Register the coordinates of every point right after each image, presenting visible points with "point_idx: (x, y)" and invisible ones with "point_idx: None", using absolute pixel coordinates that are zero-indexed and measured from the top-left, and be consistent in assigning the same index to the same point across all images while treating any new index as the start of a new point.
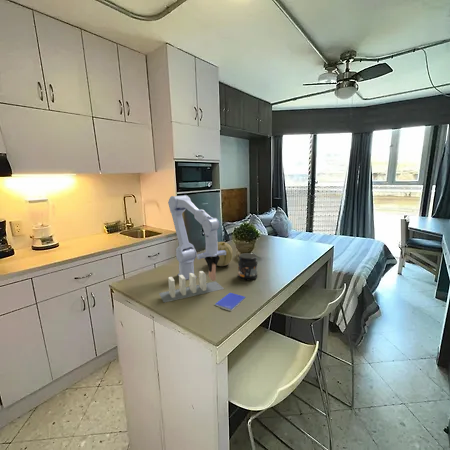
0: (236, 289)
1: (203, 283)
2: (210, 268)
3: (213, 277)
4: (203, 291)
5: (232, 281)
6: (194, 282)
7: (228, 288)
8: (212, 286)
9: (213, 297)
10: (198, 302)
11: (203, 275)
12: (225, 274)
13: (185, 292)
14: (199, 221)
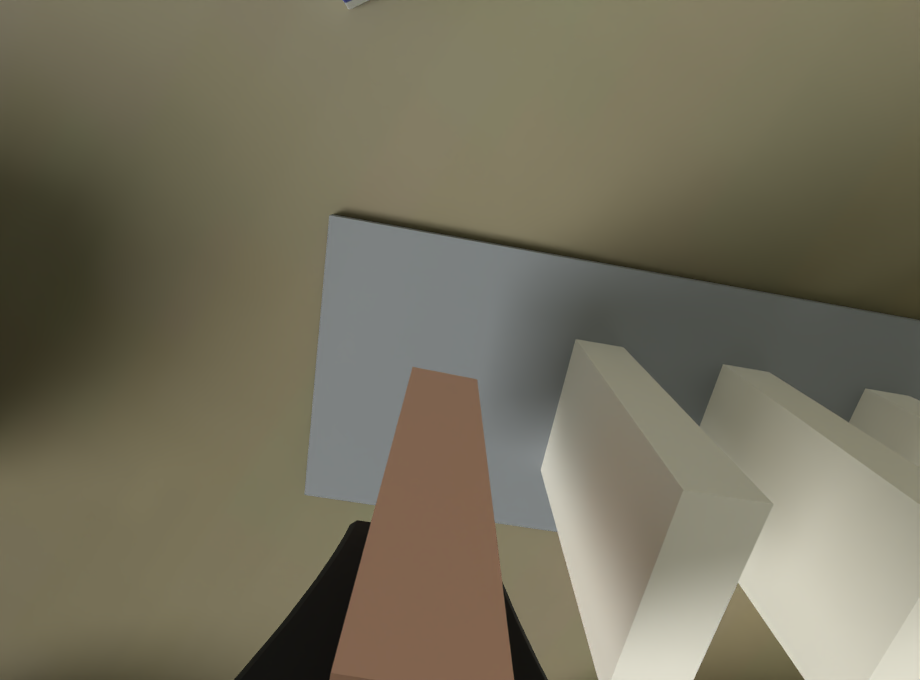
0: (154, 90)
1: (661, 396)
2: (518, 625)
3: (456, 401)
4: (630, 333)
5: (80, 369)
6: (870, 451)
7: (253, 207)
8: None
9: (621, 90)
10: (890, 97)
11: (743, 492)
12: (73, 594)
13: (904, 405)
14: None
